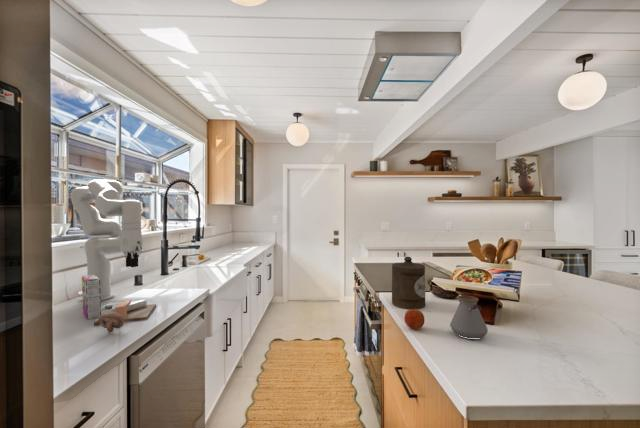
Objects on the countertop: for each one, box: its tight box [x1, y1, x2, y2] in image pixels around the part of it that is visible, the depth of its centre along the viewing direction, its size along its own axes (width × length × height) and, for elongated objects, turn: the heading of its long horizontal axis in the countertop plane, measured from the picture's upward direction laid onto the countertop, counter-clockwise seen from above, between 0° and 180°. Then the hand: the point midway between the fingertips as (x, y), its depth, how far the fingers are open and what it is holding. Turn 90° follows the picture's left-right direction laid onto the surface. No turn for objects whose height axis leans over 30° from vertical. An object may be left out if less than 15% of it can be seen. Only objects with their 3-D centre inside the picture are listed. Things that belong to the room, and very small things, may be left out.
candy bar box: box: [81, 275, 102, 320], centre depth 124 cm, size 11×5×16 cm, turn 47°
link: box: [101, 298, 148, 315], centre depth 125 cm, size 18×5×4 cm, turn 154°
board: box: [93, 303, 157, 327], centre depth 124 cm, size 18×18×1 cm
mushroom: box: [98, 312, 125, 334], centre depth 105 cm, size 8×6×8 cm
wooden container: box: [391, 256, 426, 310], centre depth 134 cm, size 15×15×22 cm
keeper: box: [115, 300, 132, 319], centre depth 120 cm, size 3×8×5 cm, turn 19°
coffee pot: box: [449, 294, 488, 339], centre depth 95 cm, size 21×12×15 cm, turn 161°
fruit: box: [403, 307, 425, 331], centre depth 106 cm, size 7×7×8 cm
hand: (132, 266), depth 134 cm, fingers open, 2 cm apart
